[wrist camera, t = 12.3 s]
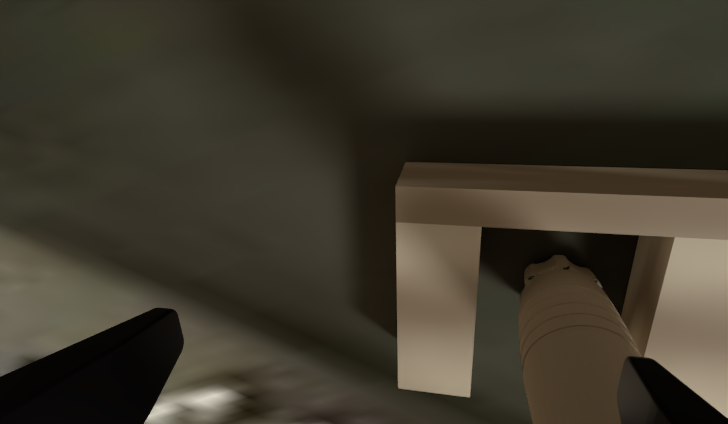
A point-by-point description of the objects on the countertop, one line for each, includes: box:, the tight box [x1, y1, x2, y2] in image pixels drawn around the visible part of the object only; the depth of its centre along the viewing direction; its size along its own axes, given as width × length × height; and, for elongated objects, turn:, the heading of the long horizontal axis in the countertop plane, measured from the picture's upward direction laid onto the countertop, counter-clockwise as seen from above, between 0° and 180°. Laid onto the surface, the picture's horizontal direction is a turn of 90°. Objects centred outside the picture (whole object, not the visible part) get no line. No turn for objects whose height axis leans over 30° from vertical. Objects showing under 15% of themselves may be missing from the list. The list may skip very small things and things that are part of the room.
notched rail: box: [395, 162, 728, 418], centre depth 18 cm, size 10×24×3 cm, turn 93°
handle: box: [518, 255, 642, 424], centre depth 14 cm, size 5×6×15 cm
